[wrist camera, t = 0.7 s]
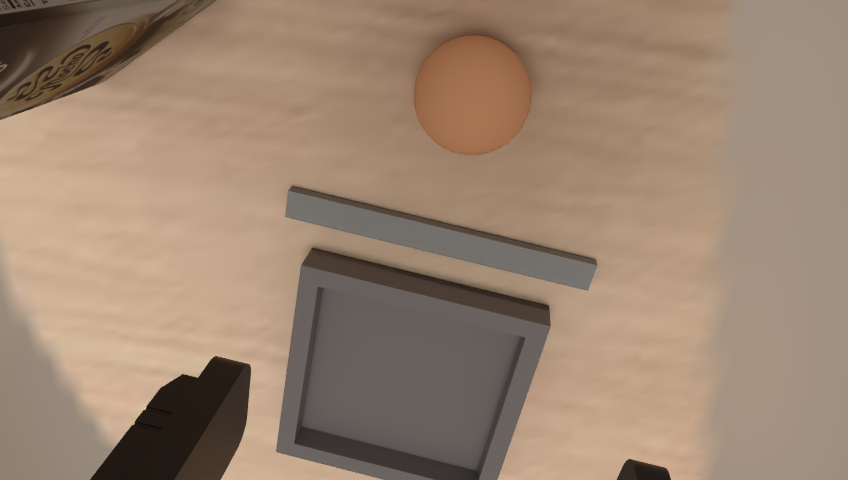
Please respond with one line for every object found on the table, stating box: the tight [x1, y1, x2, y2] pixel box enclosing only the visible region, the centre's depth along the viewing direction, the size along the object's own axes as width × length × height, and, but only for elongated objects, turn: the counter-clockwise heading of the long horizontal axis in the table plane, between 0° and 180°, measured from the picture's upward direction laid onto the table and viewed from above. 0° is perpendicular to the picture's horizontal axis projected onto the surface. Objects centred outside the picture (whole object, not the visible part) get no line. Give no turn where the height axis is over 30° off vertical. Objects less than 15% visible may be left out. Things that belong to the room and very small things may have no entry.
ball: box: [414, 35, 531, 155], centre depth 28 cm, size 5×5×5 cm
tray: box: [276, 248, 550, 480], centre depth 37 cm, size 13×13×2 cm
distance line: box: [285, 187, 597, 291], centre depth 34 cm, size 2×16×1 cm, turn 79°
